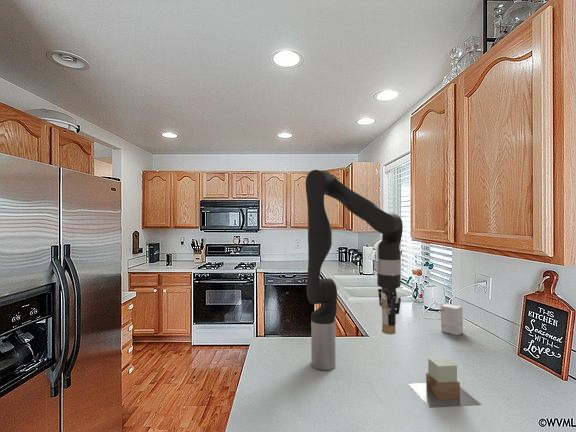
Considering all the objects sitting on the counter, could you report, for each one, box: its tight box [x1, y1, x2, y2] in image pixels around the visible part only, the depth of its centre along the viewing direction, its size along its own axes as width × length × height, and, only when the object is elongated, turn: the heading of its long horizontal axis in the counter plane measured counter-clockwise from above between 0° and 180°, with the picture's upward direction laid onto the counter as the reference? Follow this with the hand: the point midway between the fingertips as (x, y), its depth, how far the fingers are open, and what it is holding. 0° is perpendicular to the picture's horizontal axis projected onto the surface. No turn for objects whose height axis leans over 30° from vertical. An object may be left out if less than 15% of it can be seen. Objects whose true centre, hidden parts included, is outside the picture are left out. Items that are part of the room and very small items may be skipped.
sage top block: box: [427, 357, 458, 383], centre depth 103 cm, size 6×6×5 cm
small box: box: [440, 303, 464, 336], centre depth 163 cm, size 8×6×13 cm
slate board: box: [408, 382, 482, 409], centre depth 103 cm, size 14×16×1 cm
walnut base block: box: [425, 372, 461, 400], centre depth 103 cm, size 7×7×5 cm
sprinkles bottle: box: [381, 293, 397, 336], centre depth 110 cm, size 5×5×14 cm
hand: (388, 322), depth 110 cm, fingers closed on sprinkles bottle, 4 cm apart
